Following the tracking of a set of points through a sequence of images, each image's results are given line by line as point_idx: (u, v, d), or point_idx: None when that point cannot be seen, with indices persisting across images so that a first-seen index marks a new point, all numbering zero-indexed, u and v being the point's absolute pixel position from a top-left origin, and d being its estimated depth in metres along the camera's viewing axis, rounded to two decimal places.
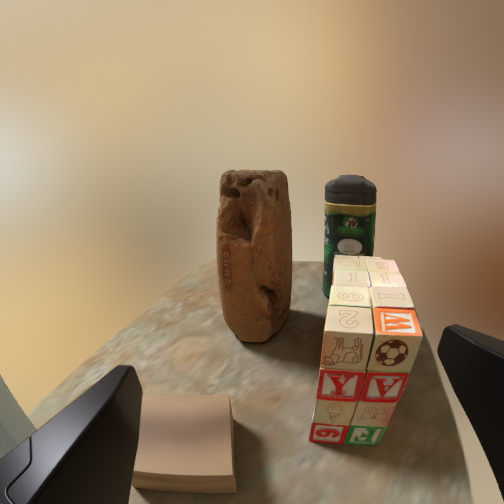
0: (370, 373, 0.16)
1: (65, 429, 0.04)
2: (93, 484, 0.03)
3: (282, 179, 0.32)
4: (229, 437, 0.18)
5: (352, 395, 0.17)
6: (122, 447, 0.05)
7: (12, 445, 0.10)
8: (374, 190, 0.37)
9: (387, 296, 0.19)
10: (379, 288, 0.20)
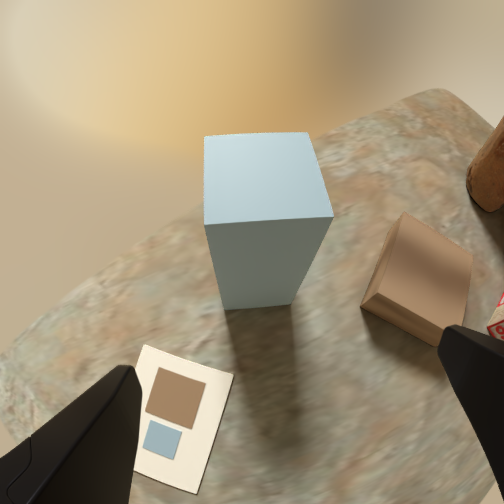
0: None
1: (65, 429, 0.04)
2: (93, 484, 0.03)
3: None
4: (465, 300, 0.18)
5: None
6: (122, 447, 0.05)
7: (304, 258, 0.14)
8: None
9: None
10: None
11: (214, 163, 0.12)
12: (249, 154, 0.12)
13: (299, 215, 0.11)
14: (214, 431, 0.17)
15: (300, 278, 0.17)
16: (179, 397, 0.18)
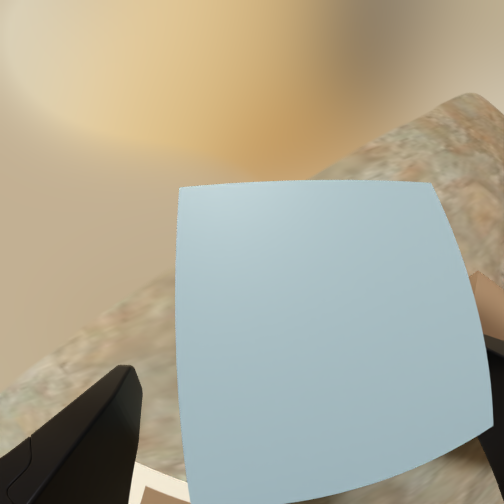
0: None
1: (65, 429, 0.04)
2: (93, 484, 0.03)
3: None
4: None
5: None
6: (122, 447, 0.05)
7: None
8: None
9: None
10: None
11: (208, 294, 0.04)
12: (312, 257, 0.04)
13: (437, 450, 0.03)
14: None
15: None
16: None
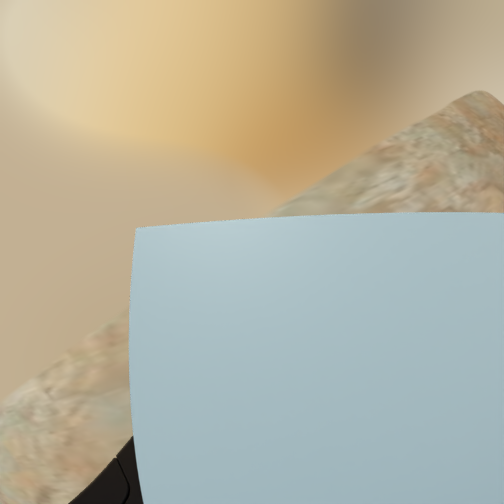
0: None
1: None
2: None
3: None
4: None
5: None
6: None
7: None
8: None
9: None
10: None
11: (194, 454, 0.02)
12: (388, 372, 0.02)
13: None
14: None
15: None
16: None
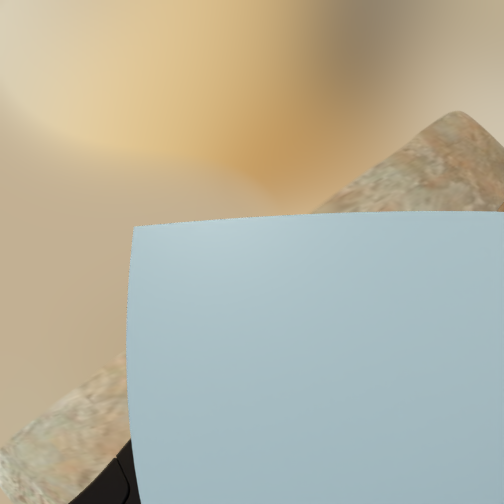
0: None
1: None
2: None
3: None
4: None
5: None
6: None
7: None
8: None
9: None
10: None
11: (190, 452, 0.02)
12: (385, 371, 0.02)
13: None
14: None
15: None
16: None
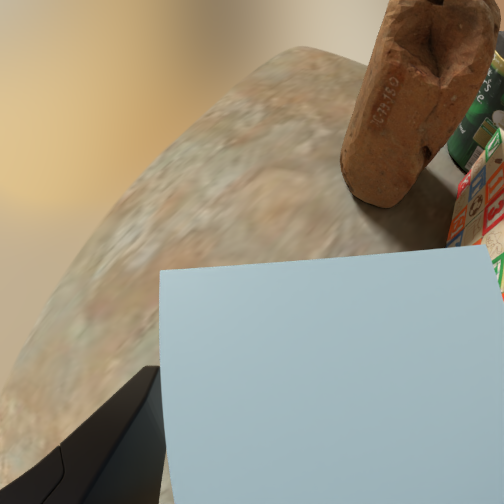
0: None
1: (98, 436, 0.04)
2: (128, 491, 0.03)
3: None
4: None
5: None
6: (153, 450, 0.05)
7: None
8: None
9: None
10: None
11: (208, 436, 0.03)
12: (348, 380, 0.03)
13: None
14: None
15: None
16: None
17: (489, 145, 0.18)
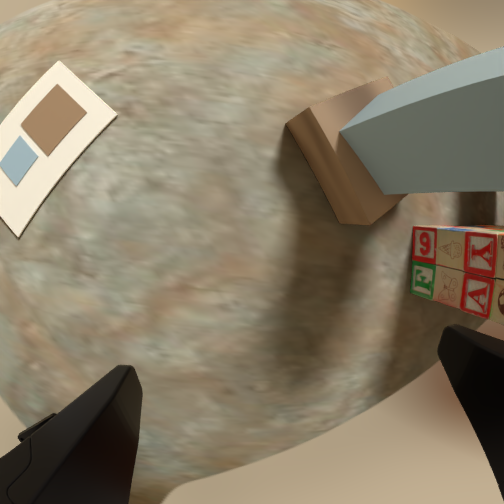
0: (493, 281, 0.15)
1: (65, 429, 0.04)
2: (93, 484, 0.03)
3: None
4: (400, 198, 0.18)
5: (469, 265, 0.17)
6: (122, 447, 0.05)
7: (491, 182, 0.09)
8: None
9: None
10: None
11: None
12: None
13: None
14: (66, 167, 0.14)
15: (449, 188, 0.12)
16: (55, 118, 0.14)
17: None
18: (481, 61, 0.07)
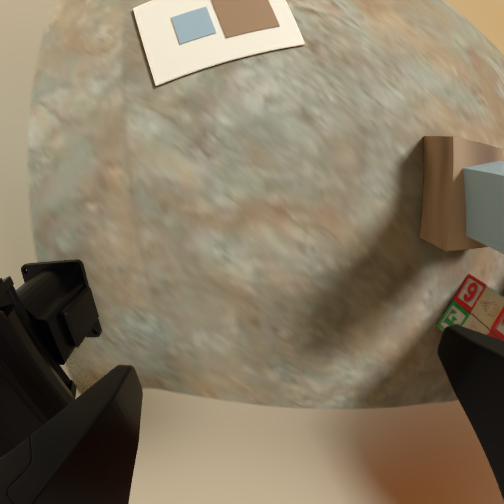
0: None
1: (65, 429, 0.04)
2: (93, 484, 0.03)
3: None
4: (474, 247, 0.17)
5: (496, 328, 0.17)
6: (122, 447, 0.05)
7: None
8: None
9: None
10: None
11: None
12: None
13: None
14: (238, 56, 0.15)
15: None
16: (248, 13, 0.14)
17: None
18: None
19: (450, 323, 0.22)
